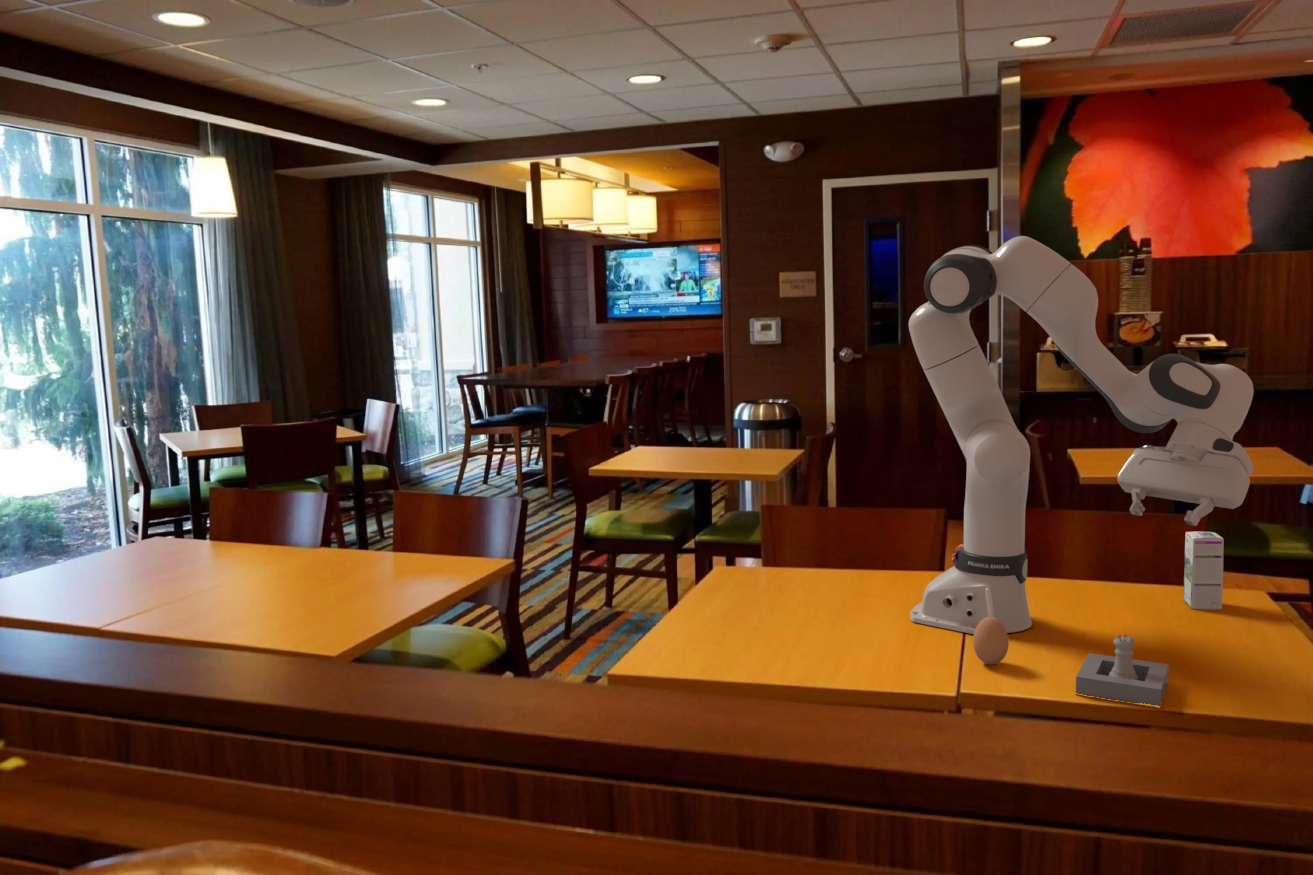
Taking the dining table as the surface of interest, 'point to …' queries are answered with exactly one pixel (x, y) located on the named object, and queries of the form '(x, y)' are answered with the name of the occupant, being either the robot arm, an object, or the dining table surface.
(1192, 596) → the syrup box
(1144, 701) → the socket block
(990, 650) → the egg
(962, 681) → the dining table surface
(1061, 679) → the dining table surface
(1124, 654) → the rook chess piece
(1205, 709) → the dining table surface
